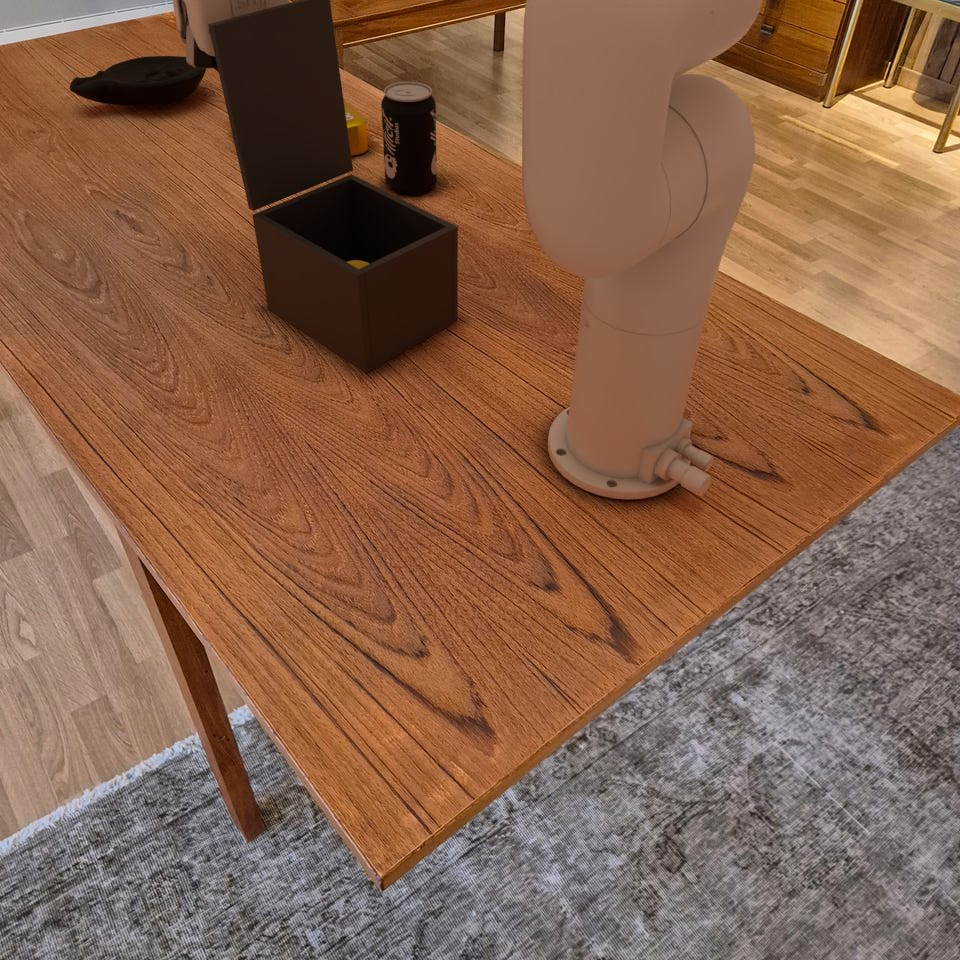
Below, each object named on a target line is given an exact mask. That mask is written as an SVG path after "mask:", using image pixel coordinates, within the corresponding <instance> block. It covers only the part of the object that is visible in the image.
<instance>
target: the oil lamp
mask: <svg viewBox="0 0 960 960" xmlns="http://www.w3.org/2000/svg"><path fill="white" fill-rule="evenodd" d="M206 72H207V68H195V67H193V66H191V65H189V64H188V63H187V62H186V56H179V55H152V56H151V55H150V56H149V55H148V56H141V57H135V58H130V59H127V60H124V61H121V62H118V63H114V64H112V65H110V66H109V67H108V68H106V69H105V70H98V71H97V72H96V73H95V74H94V75H92V76H86V77H78V76H76V77H74V78H73V79H72V80H71V82H70V85H69V91H70V92H71V93H73V94H75V95H77V96H79V97H81V98H83V99H86V100H89V101H92V102H95V103H100V104H104V105H105V104H107V105H115V106H128V107H129V106H130V107H143V108H152V107H162V106H169V105H173V104H177V103H180V102H182V101H184V100H186V99H188V98H189V97H191V96H192V95H193V93H194V92H195V91H196V90H197V88H198V87H199V85H200V83H201V82H202V80H203V78H204V76H205V74H206Z"/></svg>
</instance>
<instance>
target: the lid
mask: <svg viewBox="0 0 960 960" xmlns="http://www.w3.org/2000/svg"><path fill="white" fill-rule="evenodd" d="M331 6H332V5H331V0H294V1H290V3H287V4H283V5H279V6H275V7H272V8H268V9H264V10H260V11H256V12H253V13H249V14H245V15H241V16H237V17H233V18H230V19H226V20H222V21H218V22H214V23H211V24H208V26H209V31H210V35H211V40H212V44H213V49H214V53H215V58H216V62H217V67H218V71H219V72H218V71H217V72H218V76H219V80H220V85H221V89H222V94H223V99H224V103H225V108H226V112H227V116H228V121H229V125H230V130H231V134H232V138H233V143H234V147H235V151H236V158H237V162H238V166H239V169H240V170H239V171H240V174H241V179H242V184H243V188H244V193H245V197H246V202H247V206H248V209H249V210H251V211H253V212H255V211H257V210H259V209H262V208H265V207H267V206H269V205H272V204H274V203H277V202H280V201H282V200H284V199H287V198H289V197H292V196H294V195H297V194H299V193H301V192H303V191H307V190H309V189H311V188H313V187H316V186H318V185H321V184H323V183H324V184H325V183H326V182H329V181H330V180H333V179H336V178H338V177H340V176H343V175H346V174H348V173H350V172H353V171H354V165H353V158H352V156H351V150H350V143H349V136H348V129H347V121H346V114H345V107H344V100H343V98H344V93H343V87H342V86H343V85H342V79H341V71H340V64H339V57H338V48H337V43H336V42H337V41H336V36H335V28H334V20H333V13H332V7H331Z"/></svg>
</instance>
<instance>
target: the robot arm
mask: <svg viewBox="0 0 960 960" xmlns="http://www.w3.org/2000/svg"><path fill="white" fill-rule="evenodd" d="M287 3H291V1H290V0H172V6H173V11H174V17H175V20H176V21H175V22H176V26H177V31H178V34H179V38H180V40H181V41H182V43H183V44H185V57H186V62H187V63H188V64H189V65H191V66H193V67H195V68H206V69H213V70H215V71H216V72H217V73H219V71H218V67H217V62H216V58H215V53H214V49H213V44H212V40H211V35H210V31H209V26H208V24H211V23H214V22H218V21H222V20H226V19H230V18H233V17H237V16H241V15H245V14H249V13H253V12H256V11H260V10H264V9H268V8H272V7H275V6H279V5H283V4H287ZM762 4H763V0H526V1H525V6H524V7H525V8H524V15H523V37H522V102H521V103H522V108H521V109H522V113H521V114H522V115H521V118H522V119H521V120H522V121H521V122H522V123H521V127H522V128H521V135H522V136H521V144H522V145H521V182H522V194H523V203H524V208H525V214H526V217H527V222H528V224H529V227H530V229H531V232H532V235H533V236H534V239H535V241H536V243H537V245H538V246H539V248H540V249H541V251H543V253H544V254H545V255H546V256H547V258H548V259H549V260H550V261H551V262H552V263H553V264H554V265H556V267H558V268H559V269H561V270H563V271H564V272H566V273H569V274H571V275H573V276H577V277H580V278H584V282H583V289H582V296H581V305H580V314H579V323H578V331H577V339H576V348H575V357H574V366H573V374H572V382H571V391H570V399H569V406H568V407H566V408H565V409H564V410H562V411H561V412H560V413H559V414H558V415H557V416H556V417H555V418H554V419H553V421H552V423H551V425H550V428H549V431H548V435H547V436H548V437H547V452H548V455H549V459H550V460H551V462H552V464H553V466H554V467H555V469H556V470H557V471H558V472H559V474H560V475H562V477H564V478H565V479H566V480H567V481H569V482H570V483H572V485H574V486H576V487H578V488H580V489H582V490H584V491H586V492H588V493H591V494H594V495H596V496H601V497H605V498H608V499H614V500H615V499H617V500H626V501H627V500H641V499H647V498H651V497H656V496H659V495H661V494H664V493H667V492H668V491H670V490H671V489H673V488H675V487H676V486H678V485H679V484H680V487H682V488H683V489H686V490H687V491H689V492H691V493H692V494H693V495H696V496H698V497H702V496H703V495H704V494H705V493H706V492H707V491H708V489H709V488H710V486H711V484H712V482H713V476H712V475H710V474H708V473H707V472H708V471H709V470H710V469H711V468H712V466H713V464H714V462H715V457H714V456H713V455H711V454H709V453H708V452H706V451H704V450H703V449H699V448H697V447H695V446H694V445H693V441H692V440H691V438H690V437H691V433H692V430H693V425H694V423H693V422H691V421H689V420H688V419H686V418H684V412H685V409H686V405H687V400H688V396H689V391H690V387H691V383H692V379H693V375H694V371H695V366H696V362H697V357H698V353H699V350H700V345H701V341H702V336H703V332H704V328H705V323H706V319H707V315H708V312H709V309H710V302H711V299H712V295H713V291H714V288H715V283H716V279H717V275H718V272H719V268H720V265H721V261H722V258H723V255H724V252H725V249H726V247H727V243H728V241H729V237H730V235H731V233H732V230H733V227H734V225H735V223H736V221H737V217H738V215H739V213H740V210H741V207H742V204H743V202H744V200H745V198H746V197H745V196H746V194H747V191H748V188H749V185H750V182H751V177H752V173H753V169H754V163H755V157H756V156H755V155H756V137H755V131H754V129H755V128H754V124H753V122H752V118H751V116H750V113H749V111H748V109H747V106H746V105H745V103H744V101H743V100H742V99H741V97H740V96H739V94H738V93H736V92H735V91H734V90H733V89H732V88H731V87H730V86H728V84H726V83H724V82H722V81H721V80H719V79H716V78H713V77H712V76H707V75H703V74H697V73H687V72H688V71H691V70H693V69H695V68H697V67H700V66H702V65H703V64H705V63H707V62H709V61H711V60H712V59H714V58H716V57H718V56H720V55H721V54H723V53H725V52H726V51H728V50H729V49H730V48H732V47H733V46H734V45H736V44H737V43H738V42H739V41H740V40H742V38H744V37H745V36H746V35H747V33H748V32H749V31H750V29H751V27H752V26H753V24H754V23H755V21H756V19H757V17H758V15H759V14H760V10H761V8H762ZM691 464H692V465H691Z"/></svg>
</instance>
